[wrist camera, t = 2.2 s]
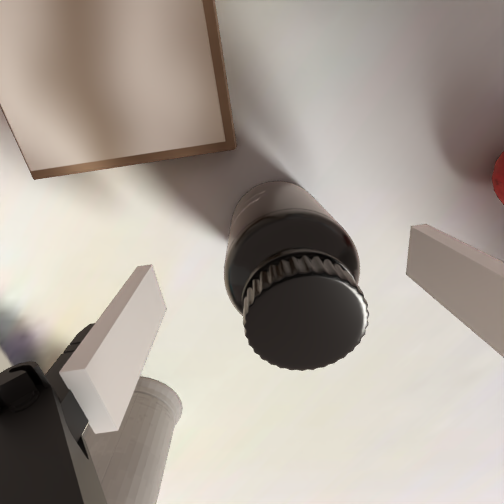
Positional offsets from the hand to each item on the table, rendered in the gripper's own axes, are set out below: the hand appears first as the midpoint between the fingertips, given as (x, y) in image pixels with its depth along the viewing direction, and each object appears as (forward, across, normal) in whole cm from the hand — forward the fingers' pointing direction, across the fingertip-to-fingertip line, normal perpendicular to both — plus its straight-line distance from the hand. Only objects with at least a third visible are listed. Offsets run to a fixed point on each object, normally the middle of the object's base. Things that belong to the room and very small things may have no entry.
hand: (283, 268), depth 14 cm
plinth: (+8, +8, -12) cm, 16 cm away
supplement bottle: (+8, 0, 0) cm, 8 cm away
